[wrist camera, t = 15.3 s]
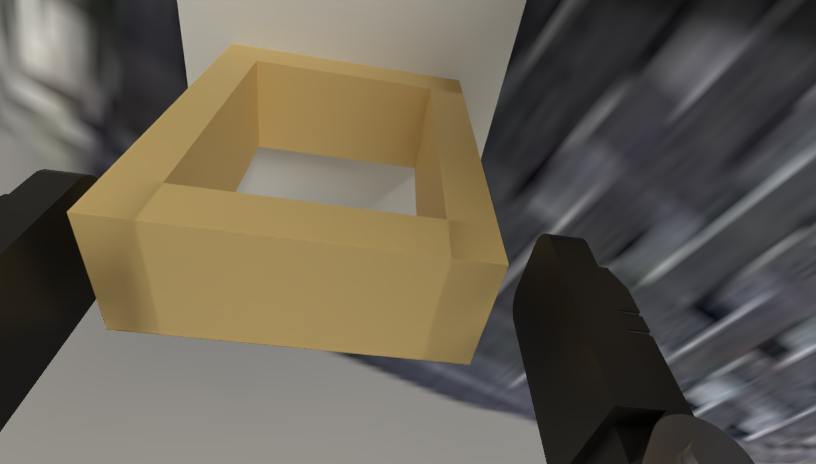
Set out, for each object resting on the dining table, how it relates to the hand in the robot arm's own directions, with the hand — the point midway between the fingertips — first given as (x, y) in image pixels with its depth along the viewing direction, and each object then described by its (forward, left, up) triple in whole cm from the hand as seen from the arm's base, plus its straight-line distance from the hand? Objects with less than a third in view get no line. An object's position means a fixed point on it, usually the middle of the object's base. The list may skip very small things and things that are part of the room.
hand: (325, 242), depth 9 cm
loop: (0, 0, -6) cm, 6 cm away
